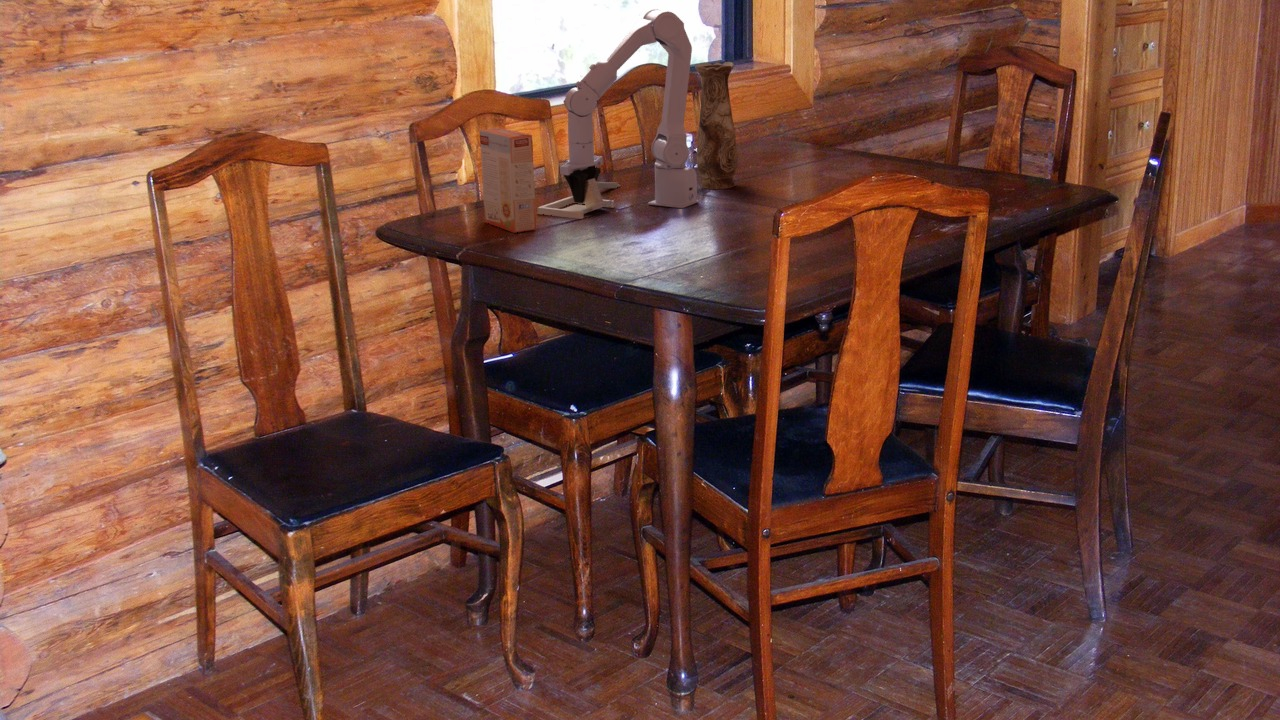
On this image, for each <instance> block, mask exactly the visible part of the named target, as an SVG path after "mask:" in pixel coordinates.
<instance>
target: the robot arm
mask: <svg viewBox="0 0 1280 720" xmlns="http://www.w3.org/2000/svg"><path fill="white" fill-rule="evenodd" d="M656 43H659V45H660V46H661V47H662V48H663V49H664V50H665V51H666V52H667V54H668V55H667V63H666V75H665V83H664V84H665V85H664V93H663V102H662V103H663V104H662V112H661V122H660V124H659V126H658V127H657V129H656V135H655V138H654V140H652V143H651V154H652V156H653V157H654V159H655V163H654V189H655V190H654V192H655V193H654V196H655V197H654V200H651V201H649V202H647V204H648V205H651V206H660V207H669V208H676V209H677V208H678V209H684V208H687V207H689V206H691V205H694V204H697V203H699V199H698V178H697V177H698V175H697V172H696V170H695V169H694V168H692V167H688V166H687V164H686V162H687V161H688V159H689V156H690V149H689V147H688V145H687V139H688V136H687V131H686V129H685V115H686V107H687V97H688V89H689V80H690V72H691V70H690V69H691V60H692V55H693V54H692V51H693V47H692V44H691V41H690V38H689V37H688V34H687V32H686V29H685V23H684V22H683V20H682V19H681V18H680V17H679V16H677V14H676V13H674V12H672V11H664V10H660V9H658V8H655V9H650V10H649V11H646V12H645V14H644V16H643V17H642V18H641V17H640V19H639V20H637V22H635V24H634V26H633V27H632V29H631V30H630V31H629V32H628V33H627V35H625V37H624V38H623V39H622V41H621V42H620V43H619V45H618V46H617V47H616V48H615V49H614V51H613V52H612V53H611V55H609V56H608V58H607V59H606V60H604V61H601V60H600V61H597V63H591V65H590V66H589V67H588V68H589V71H588V72H587V73H586V75H585V76H584V77H583V78H582V79H581V80H580V81H579V80H578V81H576V83H575V87H573V88H571V89H569V90H568V91H567V92H566V94H565V96H564V97H565V98H564V99H563V105H564V107H565V108H566V110H567V135H568V136H567V137H568V140H567V141H568V159H566V160H565V164H563V165H560V167H559V168H560V175H561V176H563V177H564V179H565V181H566V182H567V184H568V186H569V188H570V191H571V196H572V195H573V198H574V202H576V203H583V202H584V191H585V183H586V181H587V180H590V179H593V178H595V180H596V182H598V178H599V175H600V174H601V173H602V172H601V171H602V170H601V168H600V167H596V166H603V165H604V159H603V158H604V157H603V156H601V155H599V156H598V155H595V143H594V141H595V140H594V137H595V136H594V122H593V112H594V110H595V109H596V107H597V101H599V100H600V98H602V96H603V95H604V94H605V93H606V92H607V91H608V90H609V88H610V87H612V85H613V84H614V83H615V82H616V81H617V79H618V77H617V75H618V70H620V68H621V67H622V66H623V65H624V64H625V63H626V62H627V61H628V60H629V59H630V58H631V57H633V56H634V55H635V53H636V52H637V51H638V50H639V49H640V48H641V47H643V46H646V45H647V46H648V45H651V44H656Z"/></svg>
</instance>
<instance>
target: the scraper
mask: <svg viewBox="0 0 1280 720" xmlns="http://www.w3.org/2000/svg"><path fill="white" fill-rule="evenodd" d="M596 182H597V181H596V180H595V178H593V179H590V180H587V181H586V183H585V191H584V203H585V206H586V209H585V210H582V212H583V215H585V214H588V213H591V212H593V210H594V211H596V209H597V210H599V209H601V208H605V207H604V206H607V205H609V204H612V201H611V200H612V199H609V200H610V201H607V202H603V200H604V199H603V197H602V194H601V192H600V191H601V190H600V188H598V186H597V183H596ZM590 211H591V212H590ZM587 212H588V213H587Z"/></svg>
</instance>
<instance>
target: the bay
mask: <svg viewBox="0 0 1280 720" xmlns="http://www.w3.org/2000/svg"><path fill="white" fill-rule="evenodd" d="M610 200H611V201H612V204H609V205H607V206H604V207H603V208H612V209H613V208H615V200H612V199H603V202H607V201H610ZM572 203H576V202H574V198H573V196H572V195H571V196H568V197H565V198H562V199H559V200H556V201H554V202H553V201H552V202H550V203H547V204H544V205H540V206H539V207H537V208H536V209H537V214H538V215H543V214H544V215H545V216H551V215H552V217H553V216H554V217H559V218H560V217H562V218H569V219H580V220H582V219H584V218H585V216H584V214H583V212H582V211H574V210H565V209H564V207H566V205H567V206H570V205H573V204H572ZM569 204H570V205H569ZM582 204H585V203H584V202H583V203H578V204H577V205H582ZM544 215H543V216H544Z"/></svg>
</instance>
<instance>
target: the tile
mask: <svg viewBox="0 0 1280 720" xmlns="http://www.w3.org/2000/svg"><path fill="white" fill-rule="evenodd" d="M563 209H565V210H574V211H582V210H585V209H586V206H585V205H582V204H571V205H569V206H567V207H565V208H564V207H563ZM596 210H598V209H596ZM596 210H593V211H596ZM593 211H590V212H587V213H586V214H588V213H591V212H593Z"/></svg>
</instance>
